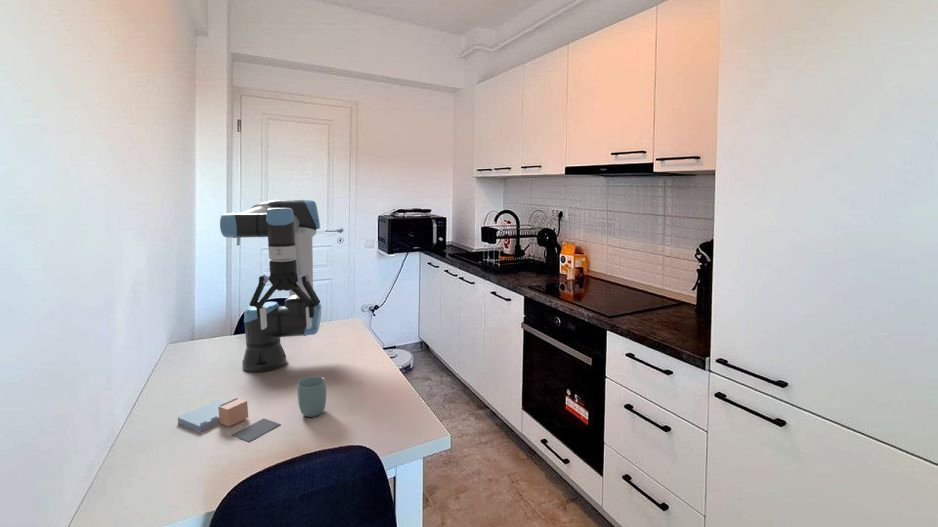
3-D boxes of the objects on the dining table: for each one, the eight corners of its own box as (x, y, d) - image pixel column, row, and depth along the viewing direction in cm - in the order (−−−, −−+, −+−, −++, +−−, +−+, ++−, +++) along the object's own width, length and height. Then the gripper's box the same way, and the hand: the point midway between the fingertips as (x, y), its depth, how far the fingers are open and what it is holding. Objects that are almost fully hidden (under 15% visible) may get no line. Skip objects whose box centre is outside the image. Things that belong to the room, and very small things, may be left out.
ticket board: (178, 423, 126) (177, 416, 125) (218, 405, 136) (218, 399, 136) (200, 432, 121) (199, 425, 121) (240, 413, 132) (239, 406, 131)
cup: (303, 407, 135) (301, 376, 134) (329, 406, 136) (328, 375, 134) (295, 420, 128) (293, 387, 126) (323, 419, 128) (322, 386, 127)
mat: (231, 435, 120) (231, 434, 120) (263, 419, 129) (263, 418, 129) (249, 442, 117) (248, 441, 117) (280, 424, 125) (280, 424, 125)
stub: (219, 423, 125) (218, 405, 124) (239, 413, 130) (237, 397, 130) (228, 426, 123) (227, 408, 122) (248, 417, 129) (247, 400, 128)
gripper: (234, 261, 130) (239, 332, 133) (321, 261, 131) (324, 331, 134) (245, 257, 137) (250, 324, 140) (328, 257, 139) (331, 324, 142)
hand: (286, 328), depth 137 cm, fingers open, 13 cm apart
